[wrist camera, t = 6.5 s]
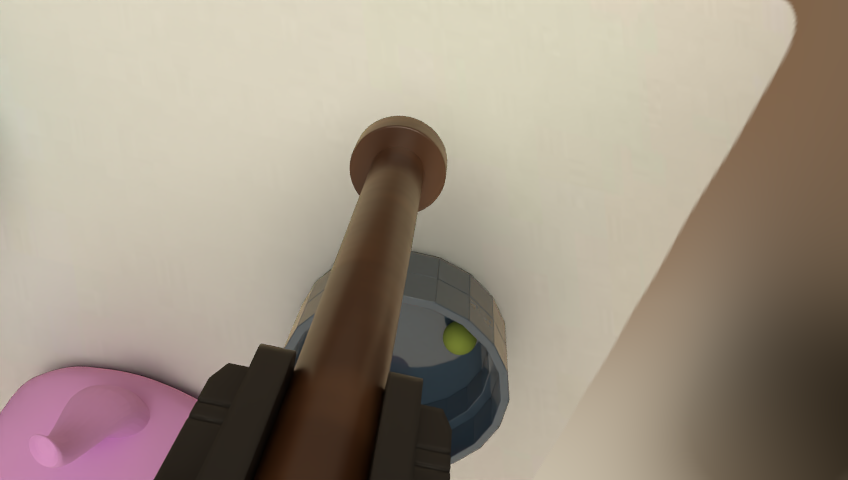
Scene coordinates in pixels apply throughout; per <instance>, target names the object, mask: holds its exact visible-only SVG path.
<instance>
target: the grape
mask: <svg viewBox="0 0 848 480" xmlns="http://www.w3.org/2000/svg"><path fill="white" fill-rule="evenodd" d="M443 342H444V345H445V347H446V348H447V349H448V350H449V351H450V352H451V353H453V354H456V355H464V354H467V353H469V352H470V351H471V350H472V349H473V348H474V347H475V345H476V342H477V339H476V338H475V337H474V336H473V335H472V334H471V333H470V332H469V331H468V330H467V329H466V328H465V327H464V326H463V325H461V324H459V323H457V322H455V321H454V322H452V323H450V324H449V325H448V326H447V327H446V328H445V330H444V333H443Z"/></svg>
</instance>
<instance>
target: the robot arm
mask: <svg viewBox="0 0 848 480" xmlns="http://www.w3.org/2000/svg"><path fill="white" fill-rule="evenodd" d="M295 360H296V351H294V350H289V349H284V348H280V347H275V346H270V345H266V344H260V346H259V347H258V349H257V351H256V353H255V355H254V358H253V360H252V362H251V364H250V366H249V367H245V366H241V365H236V364H231V363H228V364H227V365H225V366H224V367H223V368H221V369H220V370H219V371H218V372H216V373H215V374H214V375H212V376H211V377H210V378H209V379H208V381H207V383H206V385H205V386H204V388H203V390H202V392H201V394H200V396H199V397H198V401H197V402H196V403H195V405H194V407H193V408H192V410H191V412H190V414H189V417H188V418H187V419H186V421H185V423H184V425H183V427H182V429H181V430H180V432H179V434H178V436H177V438H176V439H175V441H174V443H173V445H172V447H171V449H170V450H169V452H168V454H167V456H166V458H165V460H164V461H163V463H162V465H161V467H160V469H159V471H158V472H157V474H156V476H155V478H154V480H253V478H254V476H255V473H256V470H257V468H258V465H259V462H260V460H261V457H262V454H263V452H264V449H265V446H266V444H267V441H268V439H269V436H270V433H271V431H272V428H273V425H274V423H275V420H276V417H277V415H278V412H279V409H280V407H281V404H282V401H283V399H284V396H285V393H286V391H287V388H288V385H289V383H290V380H291V377H292V375H293V372H294V367H295ZM422 388H423V378H418V377H413V376H409V375H404V374H399V373H395V372H390V371H389V374H388V378H387V382H386V386H385V390H384V395H383V401H382V406H381V412H380V417H379V423H378V428H377V434H376V439H375V445H374V450H373V455H372V461H371V466H370V472H369V477H368V480H450V474H449V473H450V463H451V456H450V454H451V440H452V429H451V427H450V424H449V422H448V420H447V417H446V415H445V413H444V410H443V409H441V408H436V407H431V406H427V405H422V404H421V397H422Z"/></svg>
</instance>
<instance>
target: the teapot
mask: <svg viewBox="0 0 848 480" xmlns="http://www.w3.org/2000/svg"><path fill="white" fill-rule="evenodd" d="M197 401H198V400H197V399H195V398H194V397H192V396H190V395H188V394H186V393H183V392H181V391H179V390H177V389H175V388H173V387H170V386H168V385H166V384H163V383H161V382H158V381H155V380H153V379H149V378H146V377H143V376H140V375H136V374H132V373H128V372H123V371H117V370H111V369H103V368H94V367H67V368H62V369H56V370H53V371H50V372H47V373H44V374H41V375H39V376H36V377H34V378H32V379H31V380H29V381H27V382H26V383H25V384H23V385H22V386H21V387H20V388H19V389H18V390H17V391H16V393H15V394H14V395H13V396H12V397H11V399H10V400H9V402H8V403H7V404H6V406H5V407H4V409H3V410H2V412H1V413H0V480H154V478H155V476H156V474H157V472H158V471H159V469H160V467H161V465H162V463H163V461H164V460H165V458H166V456H167V454H168V452H169V450H170V449H171V447H172V445H173V443H174V441H175V439H176V438H177V436H178V434H179V432H180V430H181V429H182V427H183V425H184V423H185V421H186V419H187V418H188V417H189V414H190V412H191V410H192V408H193V407H194V405H195V403H196V402H197Z"/></svg>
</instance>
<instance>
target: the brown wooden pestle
mask: <svg viewBox="0 0 848 480" xmlns="http://www.w3.org/2000/svg"><path fill="white" fill-rule="evenodd" d="M446 170H447V154H446V150H445V147H444V145H443V142H442V141H441V139H440V137H439V136H438V135H437V133H436V132H435V131H434V130H433V129H432V128H431V127H429V126H428V125H427V124H425V123H423V122H422V121H419V120H417V119H414V118H411V117H406V116H391V117H387V118H383V119H381V120H378V121H376V122H375V123H373V124H372V125H370V126H369V127H368V128H367V129H366V130H365V131H364V132H363V133H362V135H361V136H360V138H359V140H358V142H357V144H356V146H355V148H354V151H353V153H352V156H351V160H350V176H351V180H352V183H353V185H354V188H355V190H356V191H357V193H358V194H359V195H360V196H359V199H358V201H357V204H356V207H355V209H354V212H353V215H352V217H351V220H350V223H349V225H348V228H347V231H346V233H345V236H344V239H343V241H342V244H341V247H340V249H339V252H338V254H337V257H336V260H335V262H334V265H333V268H332V270H331V273H330V276H329V278H328V281H327V284H326V286H325V289H324V292H323V294H322V297H321V299H320V302H319V305H318V307H317V310H316V313H315V315H314V318H313V321H312V323H311V326H310V329H309V331H308V334H307V337H306V339H305V342H304V344H303V347H302V350H301V352H300V355H299V358H298V360H297V363H296V366H295V368H294V372H293V375H292V377H291V380H290V383H289V385H288V388H287V391H286V393H285V396H284V399H283V401H282V404H281V407H280V409H279V412H278V415H277V417H276V420H275V423H274V425H273V428H272V431H271V433H270V436H269V439H268V441H267V444H266V446H265V449H264V452H263V454H262V457H261V460H260V462H259V465H258V468H257V470H256V473H255V476H254V478H253V480H368V477H369V472H370V466H371V461H372V455H373V450H374V445H375V439H376V434H377V428H378V423H379V417H380V412H381V406H382V401H383V395H384V390H385V386H386V382H387V378H388V374H389V371H390V366H391V360H392V355H393V349H394V343H395V338H396V332H397V327H398V321H399V315H400V310H401V304H402V298H403V293H404V287H405V281H406V276H407V270H408V265H409V259H410V253H411V248H412V242H413V236H414V231H415V225H416V219H417V214H418V212H419V211H421V210H423V209H425V208H426V207H428V206H429V205H431V204H432V203H433V202H434V201H435V200H436V199H437V197H438V196H439V195H440V193H441V191H442V189H443V186H444V183H445V179H446Z"/></svg>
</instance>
